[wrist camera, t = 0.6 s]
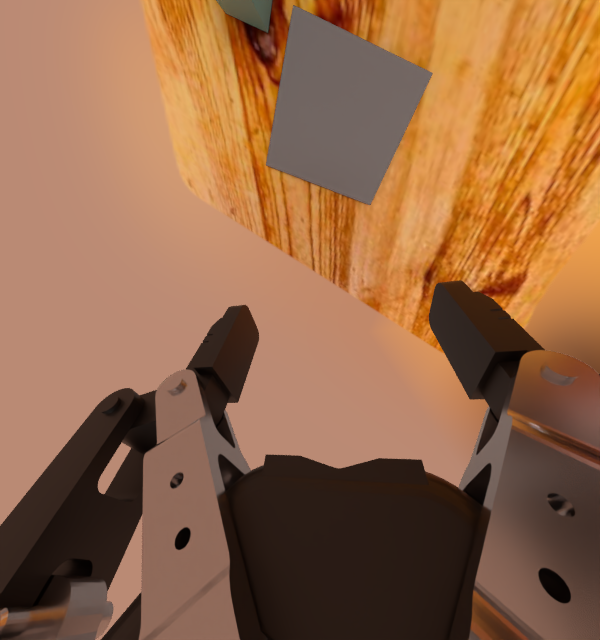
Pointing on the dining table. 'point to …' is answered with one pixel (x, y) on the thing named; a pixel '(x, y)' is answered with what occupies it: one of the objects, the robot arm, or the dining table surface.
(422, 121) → the dining table surface
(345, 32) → the mat
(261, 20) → the block
